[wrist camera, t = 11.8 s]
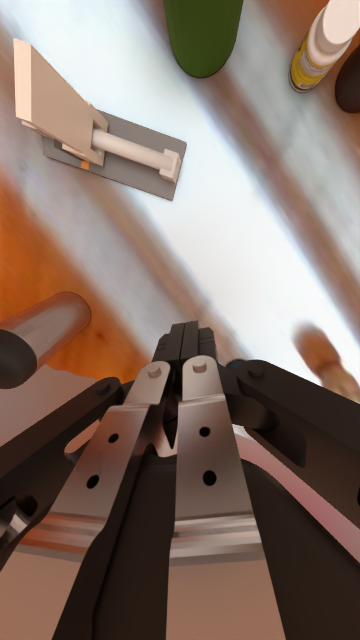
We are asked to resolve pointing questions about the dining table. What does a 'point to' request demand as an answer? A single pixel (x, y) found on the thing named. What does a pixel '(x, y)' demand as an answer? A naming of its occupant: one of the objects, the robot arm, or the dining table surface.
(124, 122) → the pipe stand
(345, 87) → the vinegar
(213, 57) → the wine bottle
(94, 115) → the peach lever handle
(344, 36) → the supplement bottle
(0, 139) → the dining table surface
